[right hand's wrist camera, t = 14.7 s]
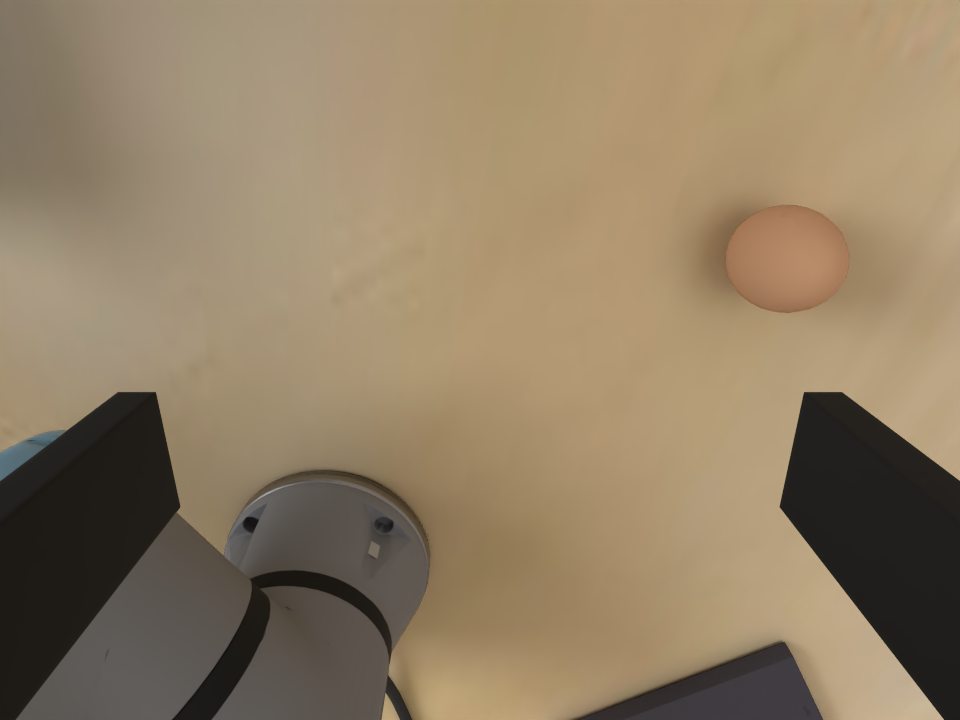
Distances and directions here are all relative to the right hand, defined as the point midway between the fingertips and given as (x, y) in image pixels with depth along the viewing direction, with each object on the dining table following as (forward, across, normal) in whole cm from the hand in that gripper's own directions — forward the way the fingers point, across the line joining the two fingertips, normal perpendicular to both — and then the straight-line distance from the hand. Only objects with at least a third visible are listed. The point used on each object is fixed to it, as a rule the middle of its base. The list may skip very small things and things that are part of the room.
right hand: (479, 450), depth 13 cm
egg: (+28, -18, +1) cm, 33 cm away
